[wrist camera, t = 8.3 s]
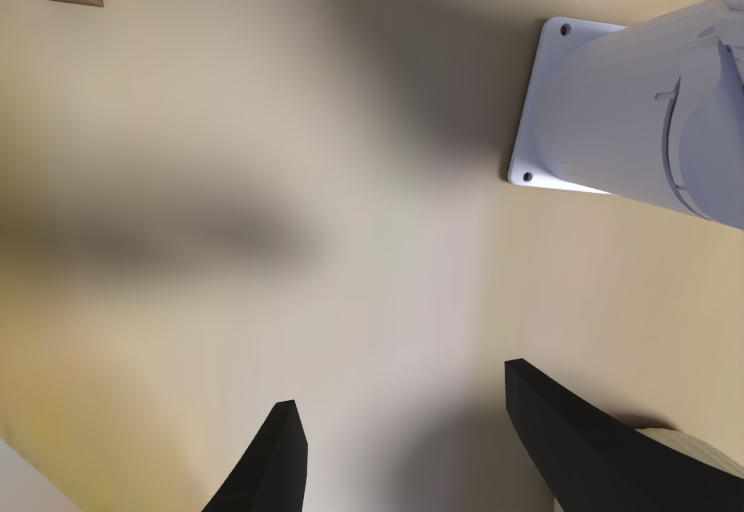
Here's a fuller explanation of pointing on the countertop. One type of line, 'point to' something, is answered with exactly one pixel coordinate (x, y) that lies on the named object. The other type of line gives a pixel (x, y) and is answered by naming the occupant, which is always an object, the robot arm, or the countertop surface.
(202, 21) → the countertop surface
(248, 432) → the countertop surface
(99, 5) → the brown wooden plank
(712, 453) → the canister
